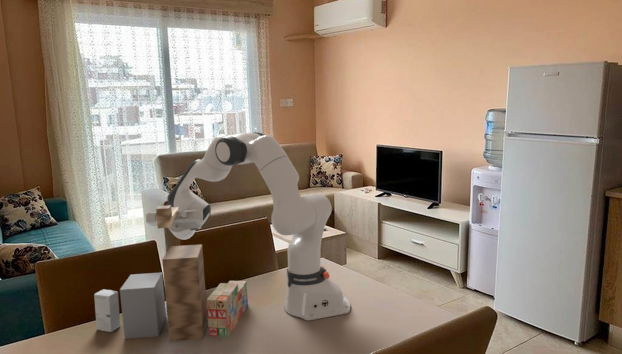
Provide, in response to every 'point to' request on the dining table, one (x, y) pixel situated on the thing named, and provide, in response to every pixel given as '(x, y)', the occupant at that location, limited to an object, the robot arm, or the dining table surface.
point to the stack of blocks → (226, 307)
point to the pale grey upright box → (143, 305)
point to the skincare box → (107, 310)
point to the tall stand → (185, 292)
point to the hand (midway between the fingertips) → (171, 212)
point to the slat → (166, 216)
